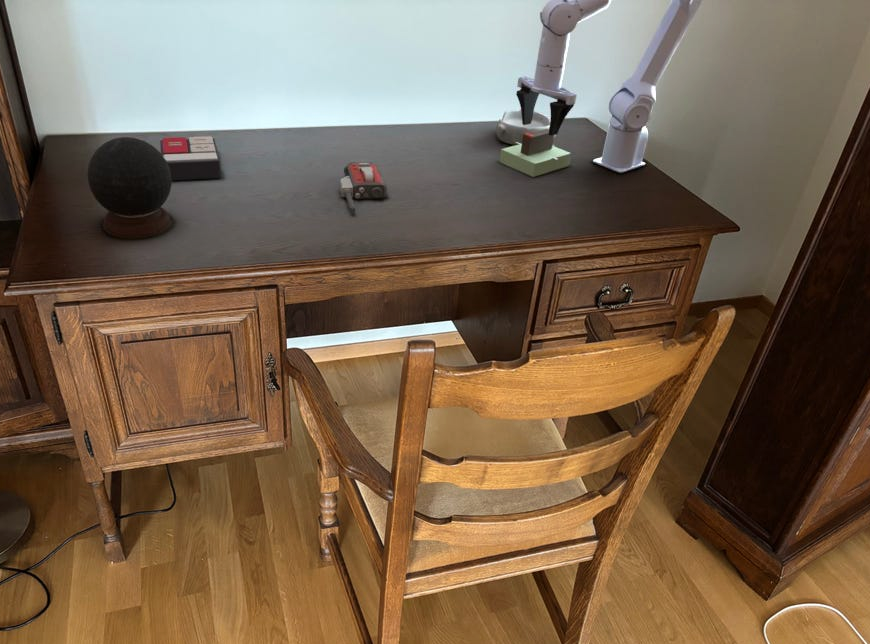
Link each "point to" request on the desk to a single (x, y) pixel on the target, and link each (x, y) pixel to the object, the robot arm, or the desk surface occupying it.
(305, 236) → the desk surface
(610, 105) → the robot arm
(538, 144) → the brown block
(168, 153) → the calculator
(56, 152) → the desk surface
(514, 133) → the dish
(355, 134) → the desk surface
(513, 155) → the stand
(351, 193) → the walkie-talkie
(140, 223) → the ball on wooden base
